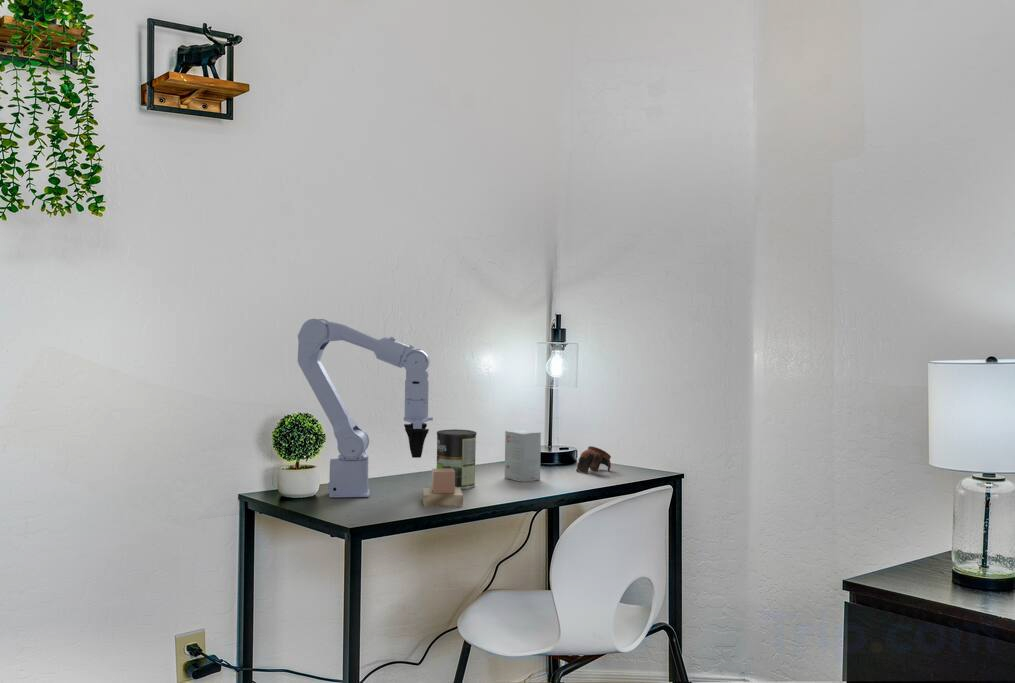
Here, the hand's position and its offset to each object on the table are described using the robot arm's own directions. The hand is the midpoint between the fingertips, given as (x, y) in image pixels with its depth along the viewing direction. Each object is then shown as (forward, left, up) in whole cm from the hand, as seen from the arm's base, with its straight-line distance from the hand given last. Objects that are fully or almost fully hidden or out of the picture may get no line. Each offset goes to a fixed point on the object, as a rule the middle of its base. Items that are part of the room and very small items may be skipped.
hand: (415, 455), depth 211 cm
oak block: (+6, -8, -10) cm, 14 cm away
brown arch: (+53, +31, -10) cm, 62 cm away
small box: (+30, +21, -10) cm, 38 cm away
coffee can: (+11, +12, -10) cm, 19 cm away
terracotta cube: (+6, -8, -7) cm, 13 cm away
